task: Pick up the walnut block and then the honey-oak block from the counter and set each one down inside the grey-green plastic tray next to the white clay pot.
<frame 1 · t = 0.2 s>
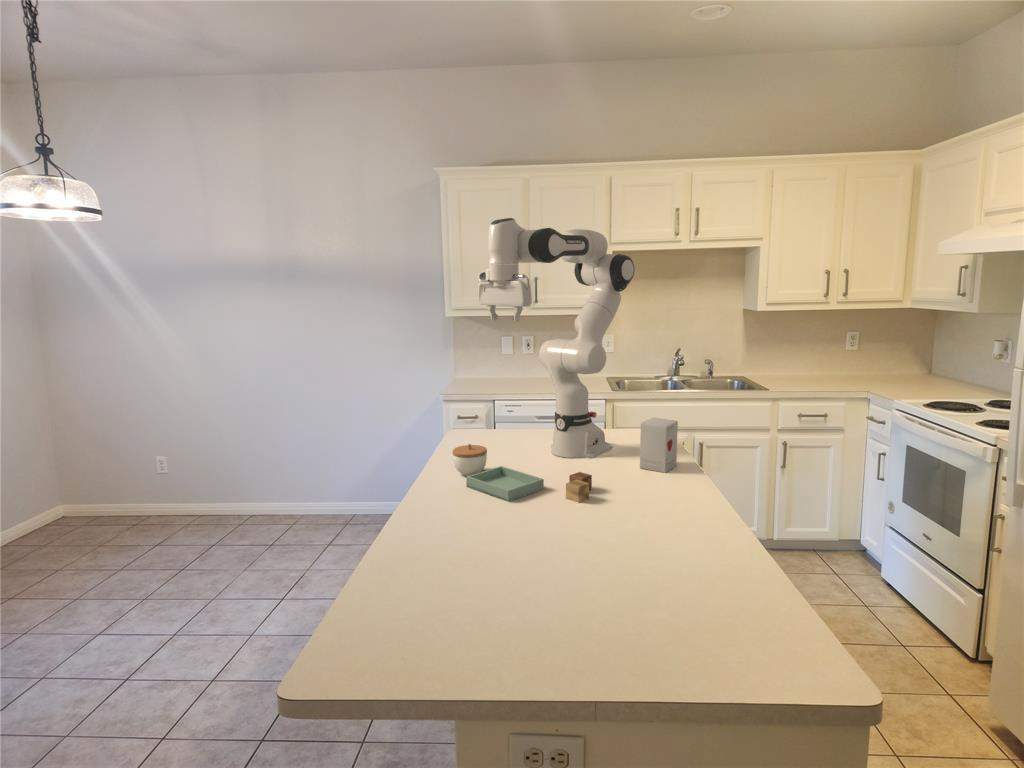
hand: (504, 321, 195), 47 cm above the counter, fingers open, 8 cm apart
oak block: (577, 498, 180), on the counter
lidded jar: (470, 473, 204), on the counter
walnut block: (580, 490, 187), on the counter
supplement box: (658, 468, 206), on the counter
tray: (504, 488, 189), on the counter
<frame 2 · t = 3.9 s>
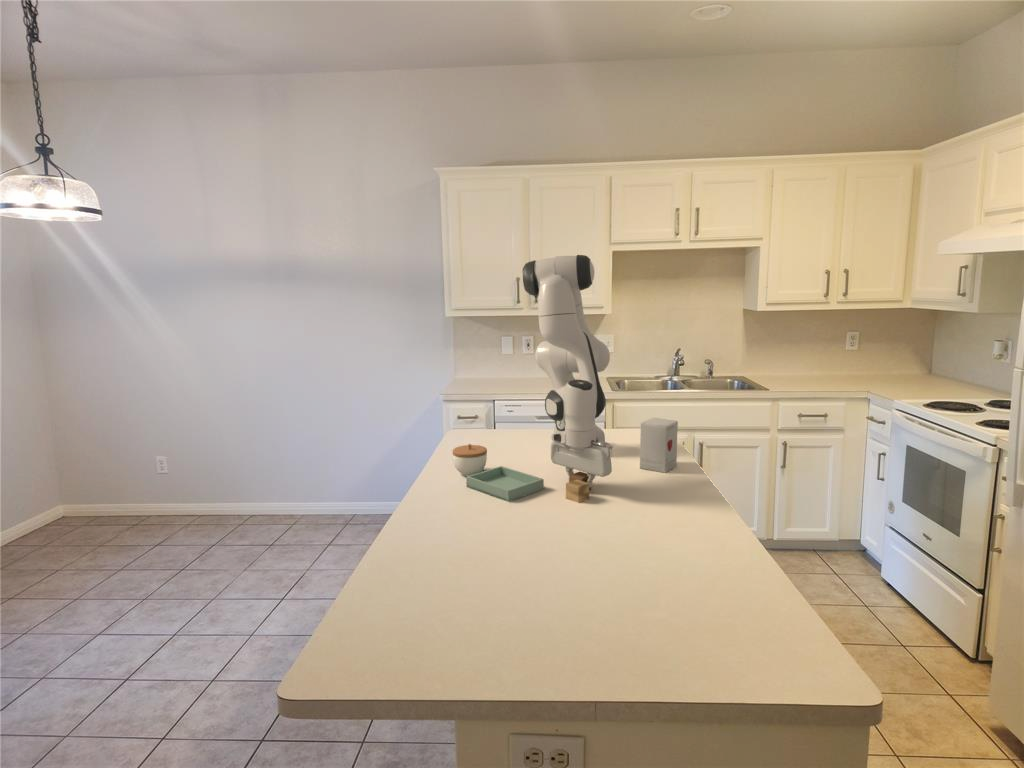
hand: (580, 484, 186), 2 cm above the counter, fingers closed on walnut block, 4 cm apart
walnut block: (580, 489, 187), on the counter, touching gripper
everything else where it was.
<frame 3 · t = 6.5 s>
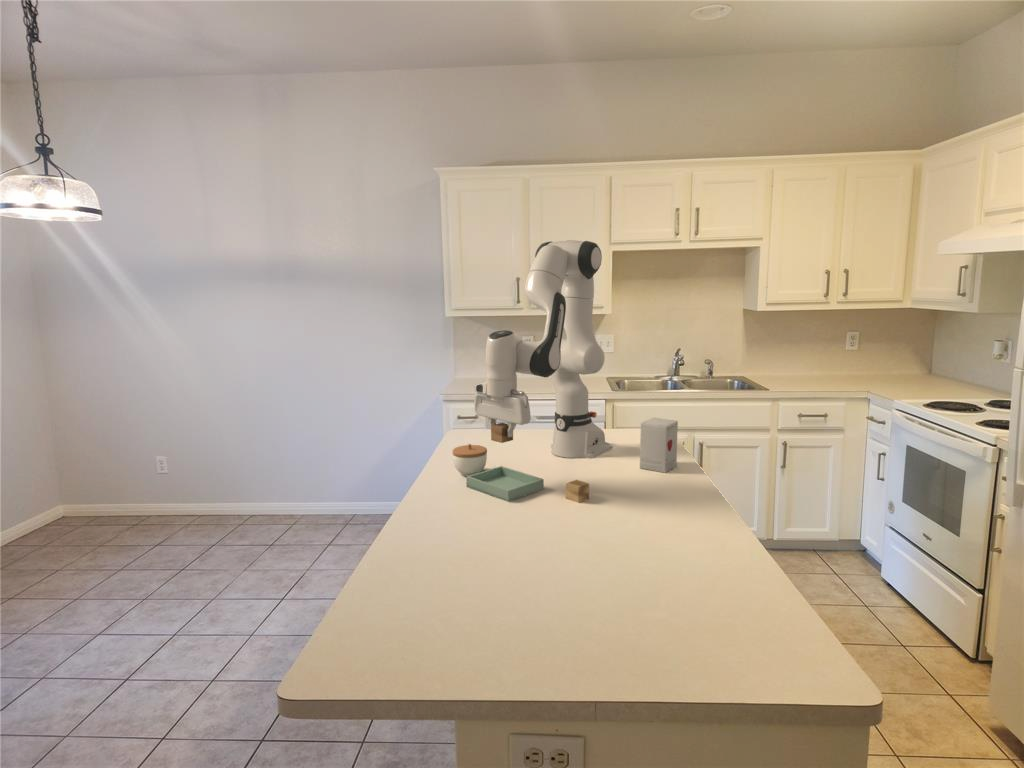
hand: (502, 434, 188), 16 cm above the counter, fingers closed on walnut block, 4 cm apart
walnut block: (502, 440, 189), point 14 cm above the counter, touching gripper
everything else where it was.
when the fingers open (4 cm above the counter, at t = 9.2 s): walnut block drops 2 cm, resting on tray.
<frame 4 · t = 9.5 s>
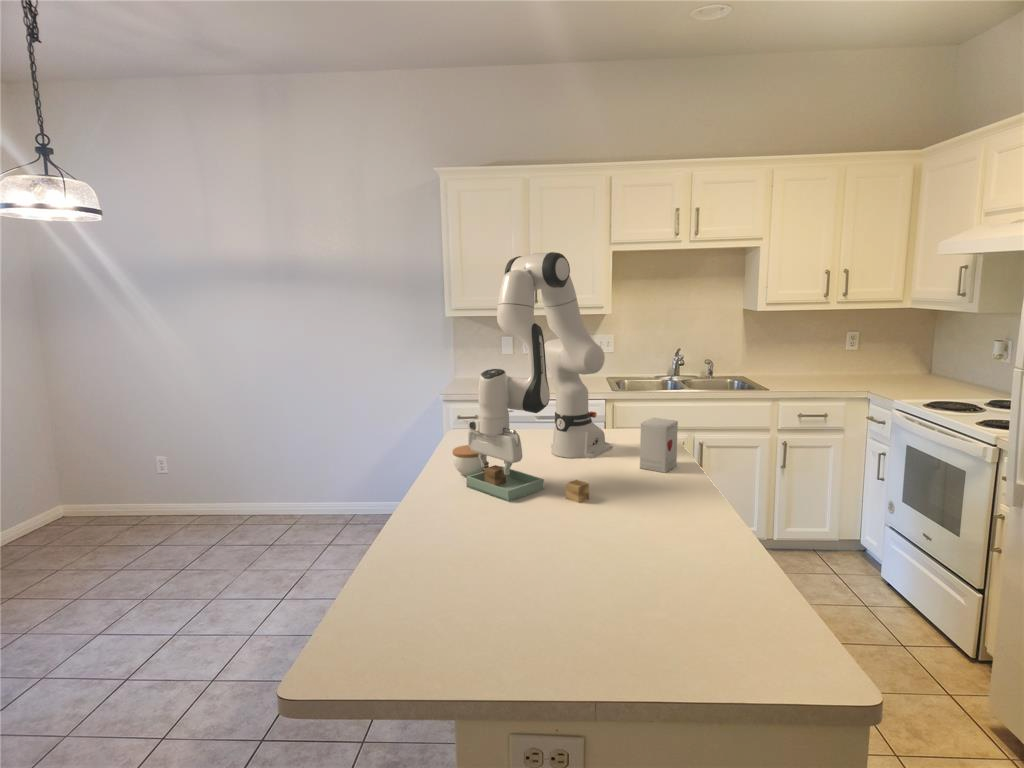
hand: (495, 470, 191), 4 cm above the counter, fingers open, 8 cm apart
walnut block: (495, 482, 192), point 1 cm above the counter, touching tray
everything else where it was.
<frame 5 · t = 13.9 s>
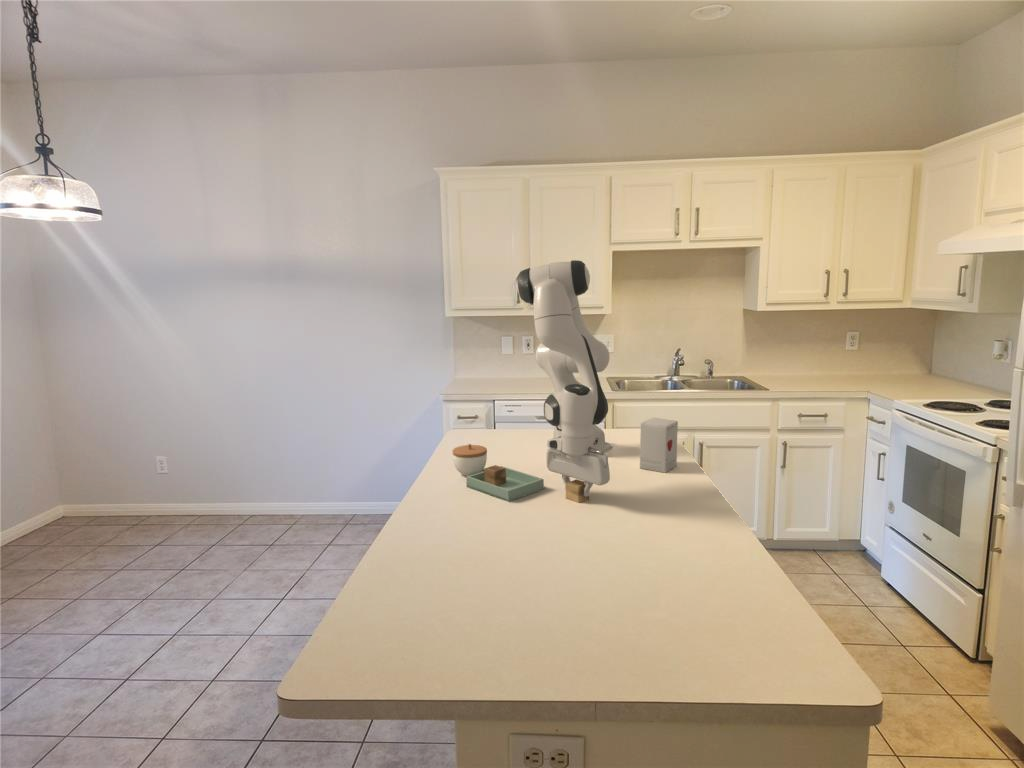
hand: (577, 492, 179), 2 cm above the counter, fingers closed on oak block, 4 cm apart
oak block: (577, 498, 180), on the counter, touching gripper
everything else where it was.
when the fingers open (4 cm above the counter, at t = 18.6 s): oak block drops 2 cm, resting on tray.
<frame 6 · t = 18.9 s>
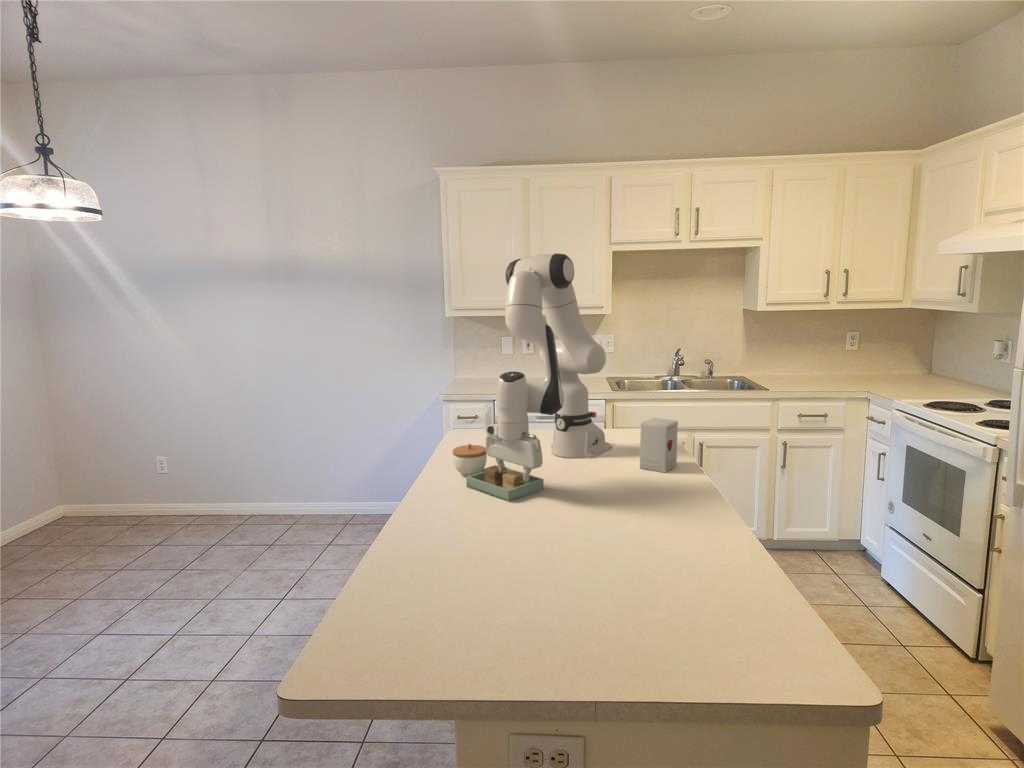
hand: (513, 476, 186), 4 cm above the counter, fingers open, 8 cm apart
oak block: (514, 489, 186), point 1 cm above the counter, touching tray
everything else where it was.
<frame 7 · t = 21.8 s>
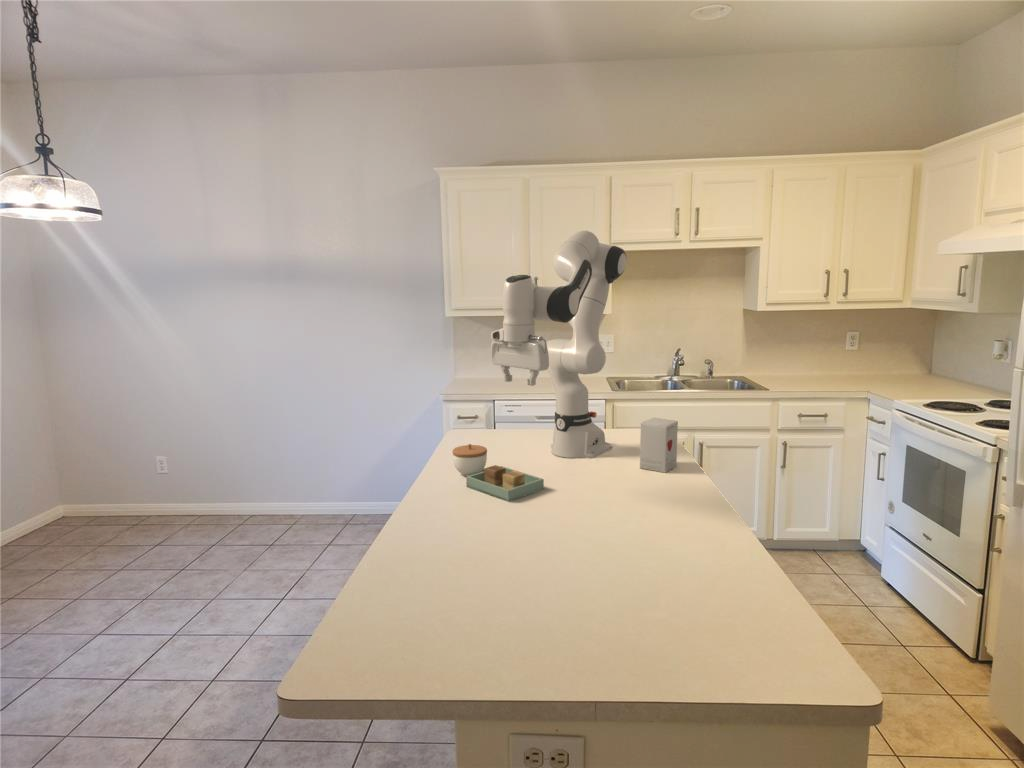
hand: (519, 383, 183), 31 cm above the counter, fingers open, 8 cm apart
nothing on the counter moved.
at the end: walnut block inside the target area on the tray (4.0 cm from its centre), point 0.6 cm above the tray's base; oak block inside the target area on the tray (4.0 cm from its centre), point 0.6 cm above the tray's base; the gripper is holding nothing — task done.
